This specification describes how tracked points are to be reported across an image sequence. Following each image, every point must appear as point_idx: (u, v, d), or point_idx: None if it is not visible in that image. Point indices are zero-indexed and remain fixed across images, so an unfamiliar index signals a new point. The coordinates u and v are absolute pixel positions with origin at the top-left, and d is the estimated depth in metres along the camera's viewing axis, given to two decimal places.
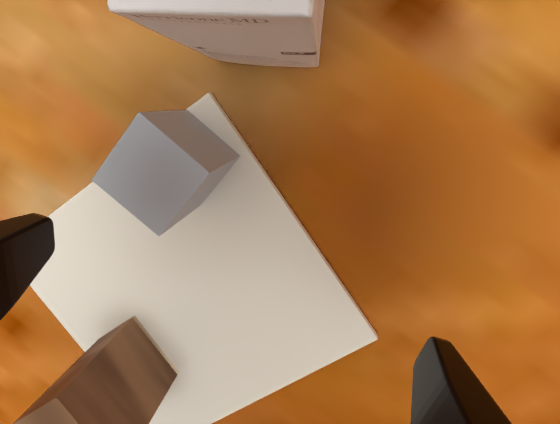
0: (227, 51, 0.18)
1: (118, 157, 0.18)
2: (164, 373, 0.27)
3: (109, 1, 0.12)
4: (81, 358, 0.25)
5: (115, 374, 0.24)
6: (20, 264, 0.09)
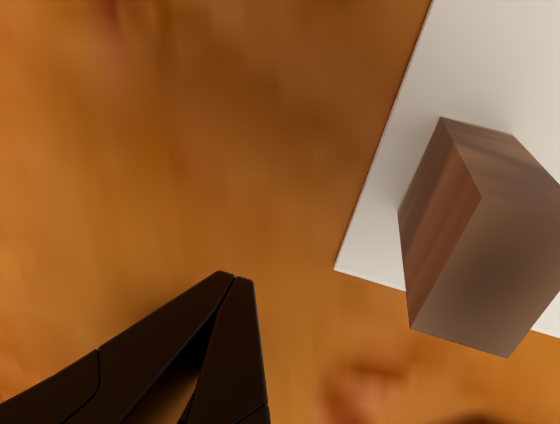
0: None
1: None
2: None
3: None
4: (469, 141, 0.15)
5: None
6: None
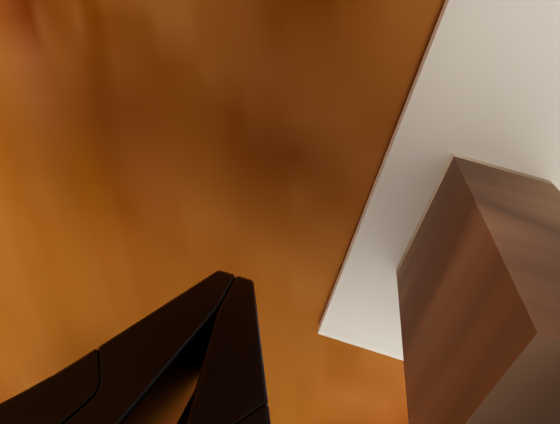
0: None
1: None
2: None
3: None
4: (497, 201, 0.11)
5: None
6: None
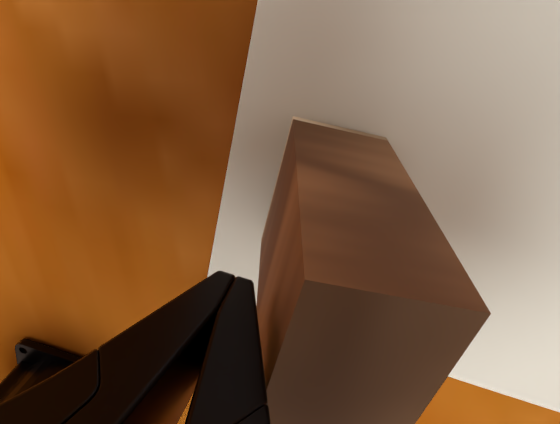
0: None
1: None
2: None
3: None
4: (320, 158, 0.11)
5: None
6: None
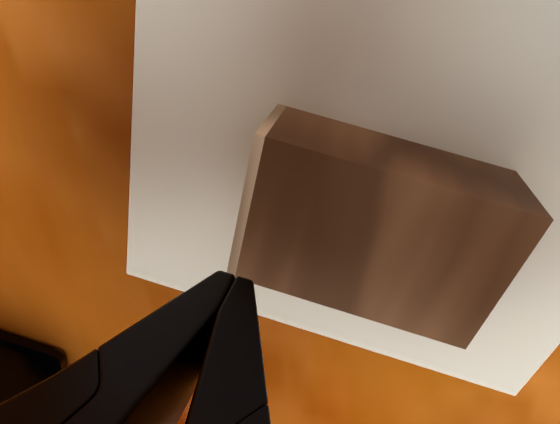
0: None
1: None
2: None
3: None
4: (365, 156, 0.11)
5: None
6: None
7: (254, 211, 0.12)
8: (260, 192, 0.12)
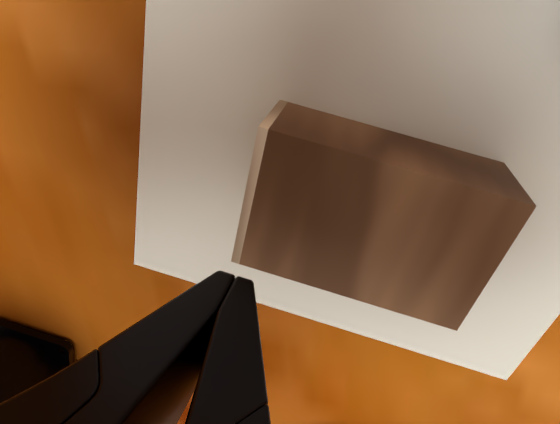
0: None
1: None
2: None
3: None
4: (361, 147, 0.12)
5: None
6: None
7: (258, 200, 0.13)
8: (263, 181, 0.12)
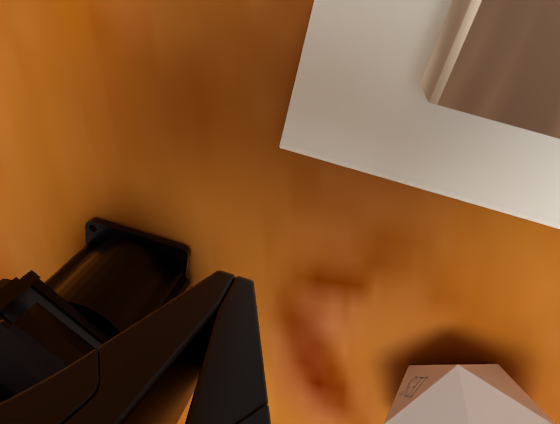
0: None
1: None
2: None
3: None
4: None
5: None
6: None
7: (477, 24, 0.13)
8: (488, 2, 0.13)
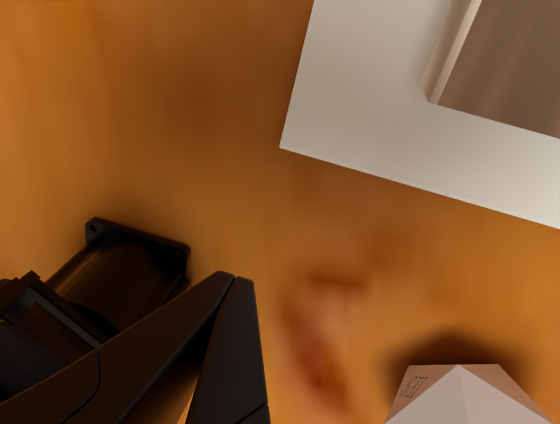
0: None
1: None
2: None
3: None
4: None
5: None
6: None
7: (476, 24, 0.13)
8: (488, 2, 0.13)
